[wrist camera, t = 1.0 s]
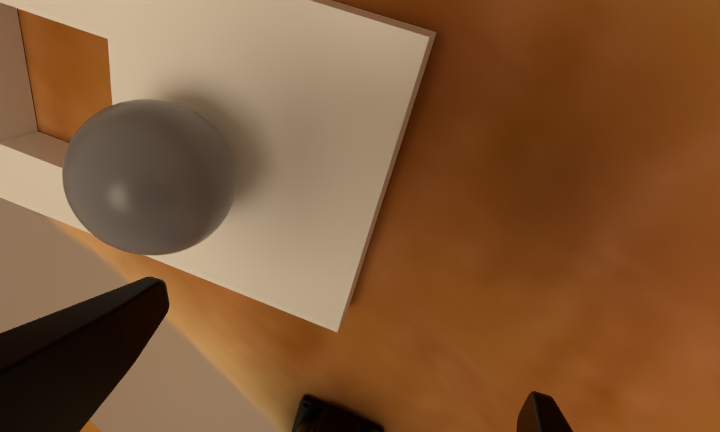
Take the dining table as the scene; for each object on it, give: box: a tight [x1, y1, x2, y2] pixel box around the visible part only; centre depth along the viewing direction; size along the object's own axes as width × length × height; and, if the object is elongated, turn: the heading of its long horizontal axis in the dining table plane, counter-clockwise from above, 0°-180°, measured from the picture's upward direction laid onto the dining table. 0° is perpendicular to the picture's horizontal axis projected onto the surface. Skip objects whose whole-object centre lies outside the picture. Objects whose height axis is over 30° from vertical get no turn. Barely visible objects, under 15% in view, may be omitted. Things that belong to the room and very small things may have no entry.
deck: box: [0, 0, 437, 332], centre depth 22 cm, size 16×24×2 cm, turn 76°
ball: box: [62, 99, 237, 255], centre depth 17 cm, size 6×6×6 cm
